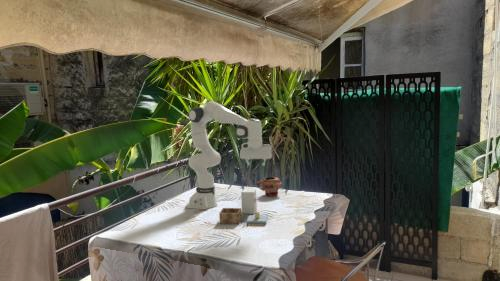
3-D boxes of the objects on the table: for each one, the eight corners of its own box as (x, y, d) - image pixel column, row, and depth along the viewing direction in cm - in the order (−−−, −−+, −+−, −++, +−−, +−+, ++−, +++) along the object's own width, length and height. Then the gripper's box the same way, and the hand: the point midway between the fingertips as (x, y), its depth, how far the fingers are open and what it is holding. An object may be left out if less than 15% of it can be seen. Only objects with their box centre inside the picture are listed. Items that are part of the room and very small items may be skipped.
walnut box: (219, 224, 219) (219, 213, 218) (223, 218, 229) (223, 207, 228) (238, 224, 217) (238, 213, 216) (241, 218, 227) (241, 208, 226)
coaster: (247, 224, 216) (247, 224, 216) (250, 218, 226) (250, 217, 226) (265, 225, 214) (265, 224, 214) (267, 218, 225) (267, 218, 225)
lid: (246, 224, 216) (246, 214, 215) (249, 218, 226) (248, 209, 225) (266, 224, 214) (265, 214, 214) (267, 218, 224) (267, 209, 223)
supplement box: (254, 214, 235) (253, 192, 233) (241, 213, 237) (240, 192, 235) (257, 209, 244) (256, 188, 242) (244, 209, 245) (243, 188, 243)
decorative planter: (257, 198, 270) (257, 180, 268) (256, 193, 282) (255, 176, 280) (283, 196, 271) (282, 179, 269) (280, 192, 283) (280, 175, 282)
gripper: (272, 143, 224) (272, 164, 226) (240, 143, 227) (241, 164, 229) (271, 144, 218) (271, 166, 220) (238, 145, 221) (239, 166, 223)
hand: (256, 165), depth 225 cm, fingers open, 8 cm apart
